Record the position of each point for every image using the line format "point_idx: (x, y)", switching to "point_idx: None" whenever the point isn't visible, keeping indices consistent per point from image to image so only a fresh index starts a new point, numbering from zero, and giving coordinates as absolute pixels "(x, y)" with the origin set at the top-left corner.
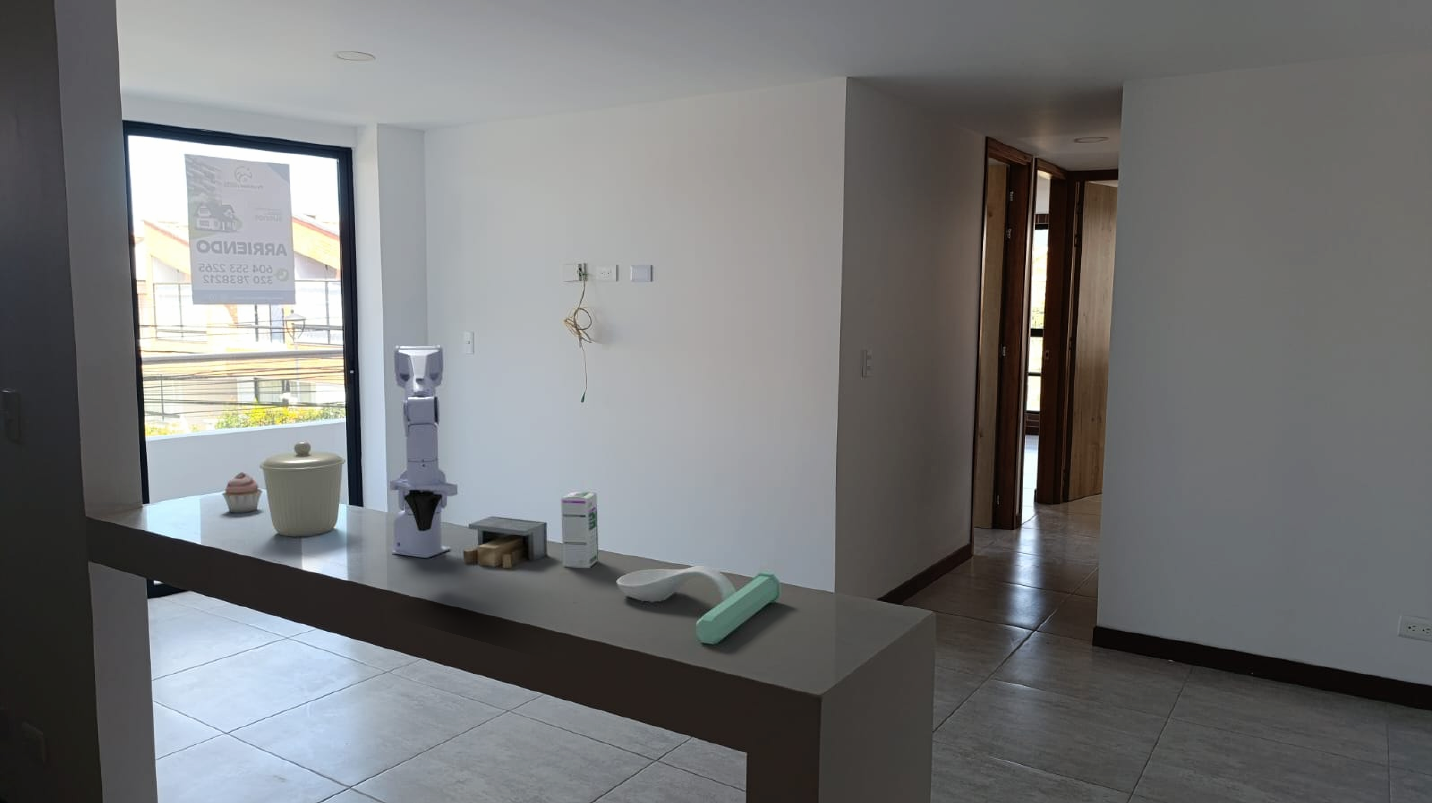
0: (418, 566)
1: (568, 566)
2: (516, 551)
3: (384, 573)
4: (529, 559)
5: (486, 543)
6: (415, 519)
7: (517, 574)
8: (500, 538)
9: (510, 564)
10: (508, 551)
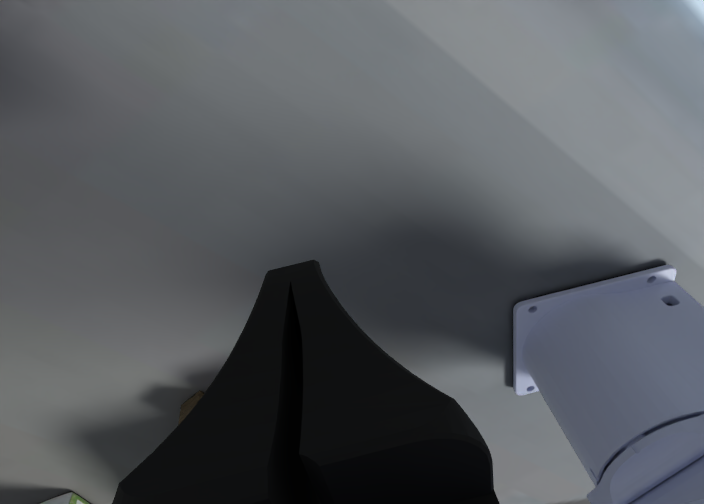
0: (471, 238)
1: (57, 497)
2: None
3: (523, 100)
4: None
5: None
6: (327, 298)
7: (93, 385)
8: None
9: (181, 414)
10: None
